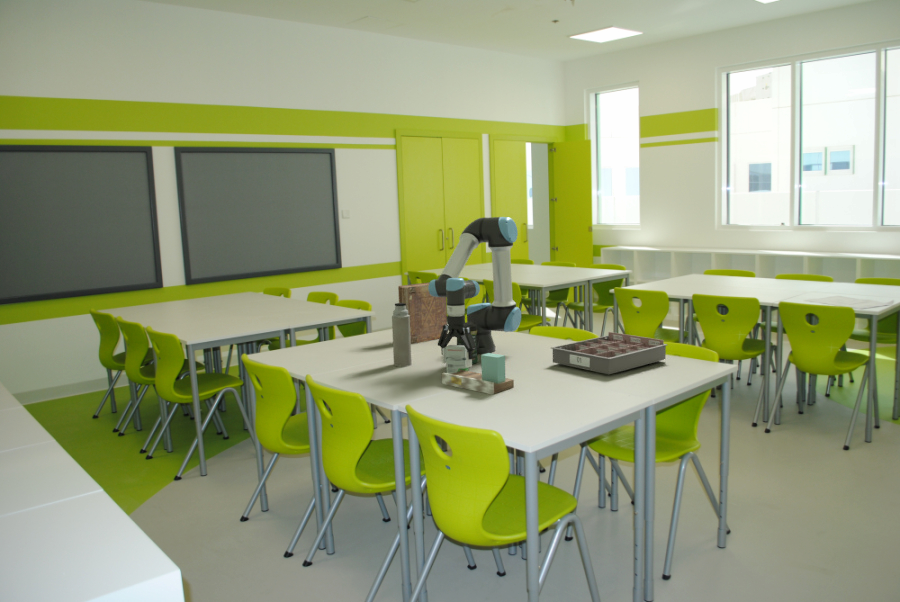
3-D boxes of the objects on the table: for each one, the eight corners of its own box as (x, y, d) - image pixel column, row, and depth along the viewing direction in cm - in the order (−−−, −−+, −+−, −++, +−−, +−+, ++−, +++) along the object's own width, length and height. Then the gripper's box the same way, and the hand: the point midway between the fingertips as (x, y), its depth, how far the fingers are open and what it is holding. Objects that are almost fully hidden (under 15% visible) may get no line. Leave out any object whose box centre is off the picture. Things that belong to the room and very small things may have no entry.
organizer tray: (550, 365, 289) (550, 343, 288) (608, 351, 313) (608, 331, 312) (609, 378, 264) (609, 354, 263) (667, 362, 288) (668, 340, 287)
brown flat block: (441, 383, 263) (441, 373, 262) (463, 377, 272) (463, 366, 272) (492, 394, 245) (491, 383, 244) (513, 387, 254) (513, 376, 254)
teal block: (481, 380, 254) (481, 354, 253) (489, 378, 258) (488, 352, 256) (498, 383, 249) (497, 357, 248) (505, 381, 252) (504, 355, 251)
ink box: (469, 372, 281) (468, 344, 279) (465, 375, 276) (464, 347, 275) (449, 371, 284) (449, 344, 282) (446, 373, 279) (445, 346, 277)
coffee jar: (462, 366, 292) (461, 324, 289) (453, 363, 298) (451, 322, 296) (480, 363, 297) (479, 322, 294) (470, 360, 303) (469, 320, 301)
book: (410, 344, 346) (408, 287, 342) (400, 341, 353) (397, 286, 349) (447, 337, 362) (445, 282, 358) (436, 335, 369) (435, 281, 365)
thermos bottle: (399, 362, 304) (396, 301, 300) (414, 363, 301) (412, 302, 297) (390, 365, 297) (388, 304, 293) (406, 367, 294) (403, 304, 290)
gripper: (428, 313, 282) (430, 362, 285) (472, 318, 265) (473, 370, 268) (440, 311, 288) (442, 359, 290) (484, 316, 271) (485, 367, 273)
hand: (457, 364), depth 279 cm, fingers open, 13 cm apart
